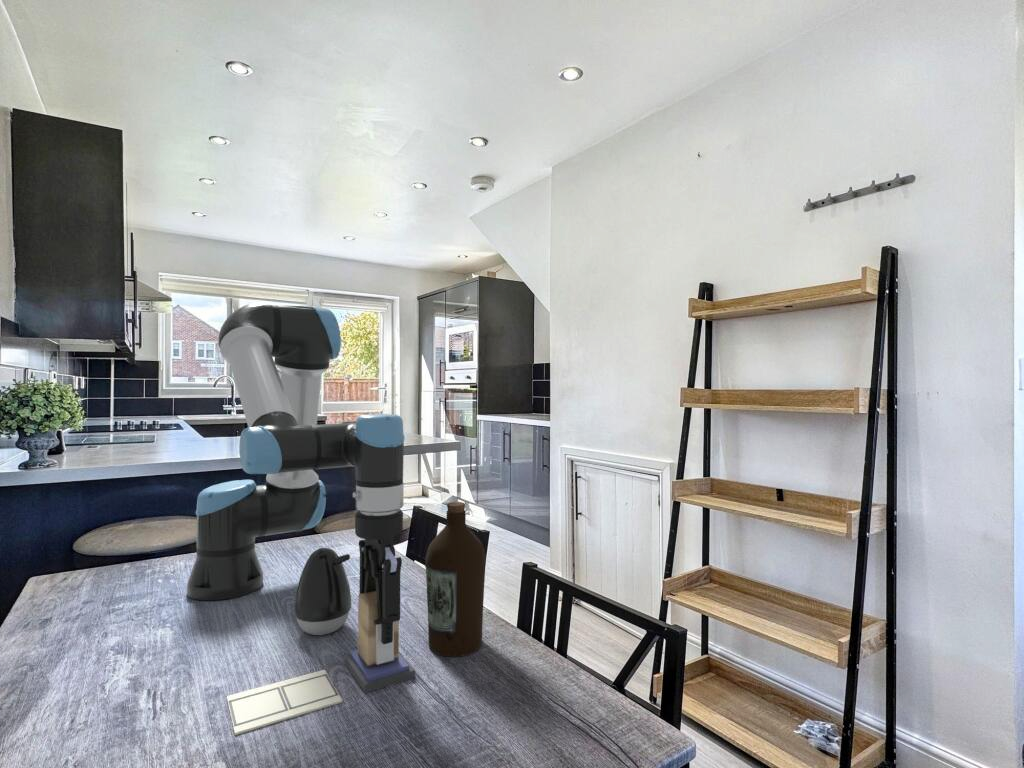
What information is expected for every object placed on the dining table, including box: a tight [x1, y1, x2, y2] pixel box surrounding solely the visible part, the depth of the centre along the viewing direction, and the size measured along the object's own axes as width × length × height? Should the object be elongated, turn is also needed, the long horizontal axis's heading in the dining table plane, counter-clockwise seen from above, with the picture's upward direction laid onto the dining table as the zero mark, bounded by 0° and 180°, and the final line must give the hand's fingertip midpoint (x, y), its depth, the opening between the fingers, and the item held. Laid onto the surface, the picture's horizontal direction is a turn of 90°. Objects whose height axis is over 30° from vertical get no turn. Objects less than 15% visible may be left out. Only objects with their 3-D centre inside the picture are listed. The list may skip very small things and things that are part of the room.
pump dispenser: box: [293, 547, 352, 636], centre depth 103 cm, size 10×10×15 cm
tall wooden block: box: [357, 591, 400, 669], centre depth 89 cm, size 5×5×10 cm
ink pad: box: [343, 648, 416, 694], centre depth 89 cm, size 11×8×2 cm
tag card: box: [226, 669, 343, 736], centre depth 80 cm, size 10×14×1 cm
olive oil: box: [424, 501, 487, 658], centre depth 97 cm, size 11×11×25 cm
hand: (378, 653), depth 89 cm, fingers closed on tall wooden block, 5 cm apart
